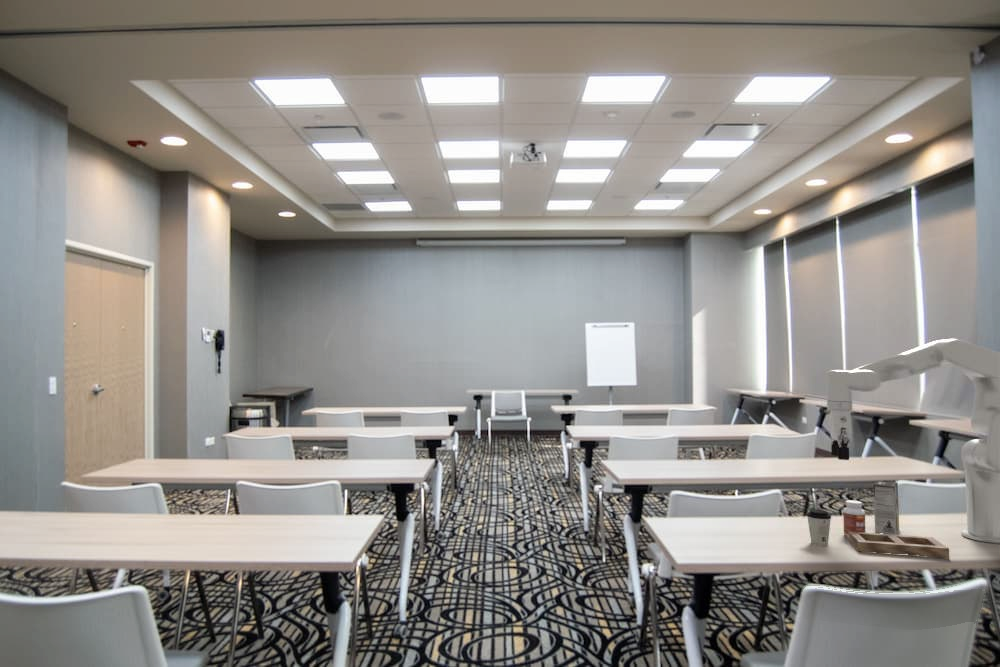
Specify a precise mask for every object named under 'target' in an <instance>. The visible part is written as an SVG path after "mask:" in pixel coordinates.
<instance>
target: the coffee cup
mask: <svg viewBox="0 0 1000 667" xmlns="http://www.w3.org/2000/svg"><path fill="white" fill-rule="evenodd" d="M806 517H807V523H808V530H809V536H810V542H811V544H812V545H814V544H815V545H814V546H818V545H827V546H828V545H829V540H830V539H829V538H830V529H831V520H832V516H831V514H829V513H828V511H826V510H823V509H815V508H814V509H810V510H809V511H808V512H807V513H806Z"/></svg>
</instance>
